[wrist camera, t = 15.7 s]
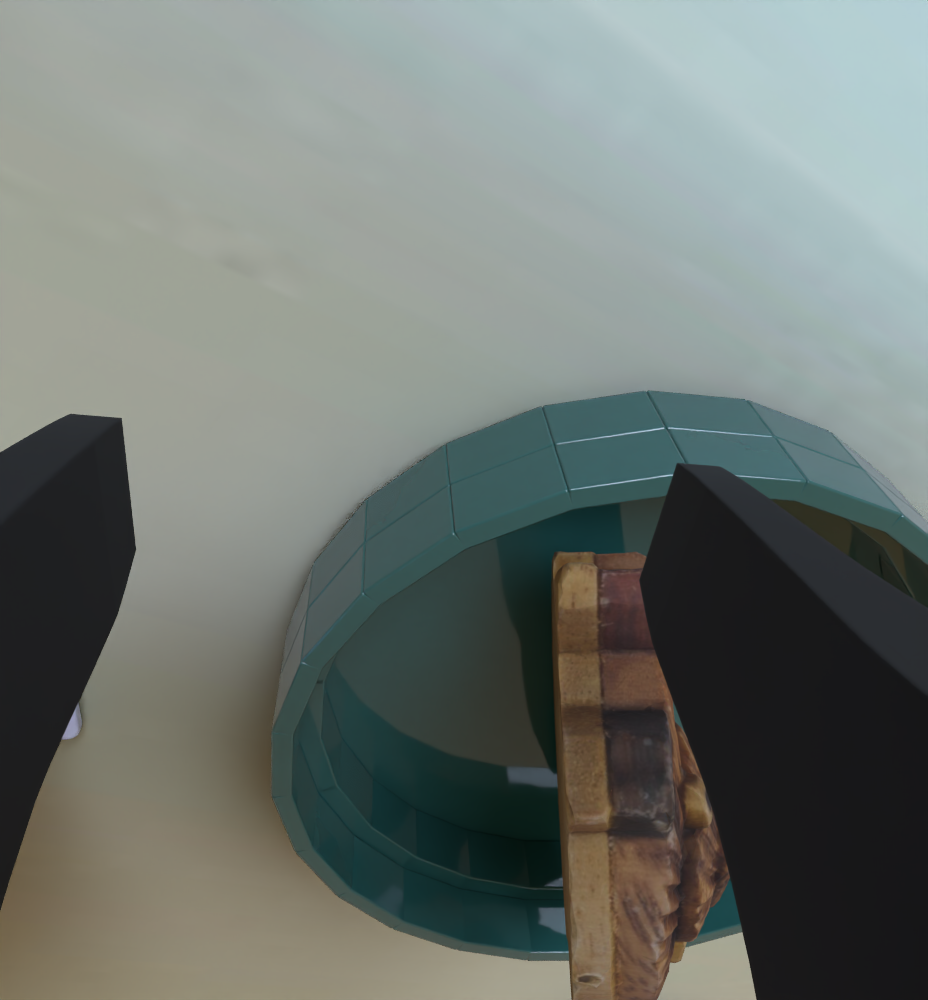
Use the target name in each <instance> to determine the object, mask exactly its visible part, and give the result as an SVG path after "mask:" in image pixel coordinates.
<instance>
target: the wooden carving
mask: <svg viewBox="0 0 928 1000" xmlns="http://www.w3.org/2000/svg"><path fill="white" fill-rule="evenodd" d="M645 560H646V556H645V555H642V554H640V553H638V552H629V553H612V554H595V553H593V552H569V553H568V552H561V551H558V552H554V555H553V558H552V576H551V613H552V660H553V692H554V716H555V739H556V762H557V782H558V805H559V823H560V841H561V860H562V877H563V893H564V909H565V924H566V937H567V940H568V949H569V965H570V982H571V996H572V1000H657V998H658V996H659V994H660V992H661V990H662V987H663V984H664V982H665V979H666V977H667V974H668V972H669V965H670V962H671V963H676V962H679V961H681V959H682V956H683V953H684V949H685V946H686V943H687V942H691V941H694V939H696V938H697V936H698V934H699V932H700V930H701V928H702V926H703V924H704V920H705V917H706V915H707V913H708V911H709V908H711V907H713V906H714V905H715V904H716V903H717V902H718V901H719V900H720V898H721V896H722V894H723V892H724V890H725V888H726V886H727V884H728V881H729V879H730V875H729V871H728V867H727V863H726V859H725V855H724V852H723V848H722V844H721V840H720V836H719V832H718V828H717V824H716V820H715V816H714V813H713V810H712V807H711V804H710V801H709V798H708V794H707V791H706V788H705V785H704V782H703V779H702V777H701V774H700V771H699V769H698V766H697V763H696V761H695V758H694V755H693V753H692V750H691V747H690V745H689V742H688V739H687V737H686V734H685V733H684V731H683V729H682V728H681V727H680V726H679V725H678V724H677V723H676V722H675V720H674V711H673V699H672V697H671V694H670V691H669V689H668V686H667V683H666V680H665V678H664V675H663V672H662V669H661V667H660V664H659V661H658V658H657V655H656V653H655V650H654V647H653V644H652V640H651V636H650V631H649V627H648V623H647V618H646V614H645V608H644V603H643V598H642V593H641V587H640V582H639V579H640V576H641V573H642V570H643V567H644V563H645Z"/></svg>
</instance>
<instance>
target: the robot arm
mask: <svg viewBox="0 0 928 1000" xmlns="http://www.w3.org/2000/svg"><path fill="white" fill-rule="evenodd" d="M135 551H136V546H135V536H134V527H133V518H132V509H131V500H130V491H129V481H128V472H127V463H126V454H125V445H124V436H123V426H122V418H114V417H101V416H89V415H76V414H69V415H67V416H65V417H63V418H60V419H58V420H56V421H54V422H53V423H51V424H49V425H47V426H45V427H43V428H42V429H40V430H38V431H36V432H35V433H33V434H31V435H29V436H28V437H26V438H24V439H23V440H21V441H19V442H17V443H16V444H14V445H12V446H11V447H9V448H7V449H5V450H4V451H2V452H0V910H1V906H2V903H3V900H4V896H5V893H6V890H7V887H8V883H9V880H10V877H11V874H12V871H13V868H14V865H15V862H16V859H17V856H18V853H19V850H20V846H21V843H22V840H23V837H24V834H25V831H26V828H27V825H28V822H29V819H30V816H31V813H32V810H33V807H34V804H35V801H36V798H37V796H38V793H39V791H40V788H41V786H42V783H43V781H44V778H45V776H46V773H47V771H48V768H49V766H50V763H51V761H52V759H53V757H54V755H55V752H56V750H57V748H58V746H59V744H60V742H61V739H63V740H65V739H72V738H74V737H76V736H77V735H78V734H79V732H80V729H81V727H82V718H81V713H80V707H79V700H80V698H81V695H82V693H83V691H84V689H85V687H86V684H87V682H88V680H89V678H90V676H91V674H92V671H93V669H94V667H95V665H96V662H97V660H98V658H99V656H100V653H101V651H102V649H103V647H104V644H105V642H106V640H107V638H108V636H109V633H110V631H111V629H112V626H113V624H114V622H115V619H116V617H117V614H118V611H119V608H120V604H121V601H122V598H123V594H124V591H125V588H126V584H127V581H128V577H129V573H130V570H131V566H132V562H133V559H134V555H135ZM639 582H640V587H641V593H642V598H643V603H644V608H645V614H646V618H647V623H648V627H649V631H650V636H651V640H652V644H653V647H654V650H655V653H656V655H657V658H658V661H659V664H660V667H661V669H662V672H663V675H664V678H665V680H666V683H667V686H668V689H669V691H670V694H671V697H672V699H673V702H674V705H675V707H676V710H677V713H678V715H679V718H680V721H681V723H682V726H683V729H684V731H685V734H686V737H687V739H688V742H689V745H690V747H691V750H692V753H693V755H694V758H695V761H696V763H697V766H698V769H699V771H700V774H701V777H702V779H703V782H704V785H705V788H706V791H707V794H708V798H709V801H710V804H711V807H712V810H713V813H714V816H715V820H716V824H717V828H718V832H719V836H720V840H721V844H722V848H723V852H724V855H725V859H726V863H727V867H728V871H729V875H730V879H731V883H732V887H733V892H734V896H735V900H736V905H737V909H738V914H739V918H740V923H741V927H742V932H743V936H744V940H745V945H746V949H747V954H748V958H749V963H750V968H751V973H752V978H753V983H754V988H755V994H756V999H757V1000H928V608H927V607H925V606H924V605H922V604H920V603H919V602H917V601H916V600H914V599H912V598H911V597H909V596H908V595H906V594H905V593H903V592H902V591H900V590H899V589H897V588H896V587H894V586H892V585H891V584H889V583H888V582H886V581H885V580H883V579H882V578H880V577H879V576H877V575H876V574H874V573H873V572H871V571H869V570H868V569H867V568H865V567H864V566H862V565H861V564H859V563H858V562H856V561H855V560H854V559H852V558H851V557H849V556H848V555H846V554H845V553H843V552H842V551H841V550H839V549H838V548H836V547H835V546H834V545H832V544H831V543H829V542H828V541H827V540H825V539H824V538H822V537H821V536H820V535H818V534H817V533H816V532H814V531H813V530H811V529H810V528H809V527H807V526H806V525H805V524H803V523H802V522H800V521H799V520H798V519H796V518H795V517H794V516H792V515H791V514H790V513H788V512H787V511H785V510H784V509H783V508H781V507H780V506H779V505H777V504H776V503H775V502H773V501H772V500H770V499H769V498H768V497H766V496H765V495H763V494H762V493H761V492H759V491H758V490H756V489H755V488H754V487H752V486H751V485H749V484H748V483H746V482H745V481H743V480H742V479H740V478H739V477H737V476H736V475H734V474H732V473H731V472H729V471H727V470H726V469H724V468H722V467H720V466H709V465H697V464H684V463H677V464H676V467H675V471H674V474H673V477H672V480H671V483H670V486H669V489H668V492H667V495H666V498H665V502H664V505H663V508H662V511H661V514H660V517H659V520H658V523H657V526H656V529H655V533H654V536H653V539H652V542H651V545H650V548H649V551H648V554H647V557H646V560H645V563H644V567H643V570H642V573H641V576H640V579H639Z"/></svg>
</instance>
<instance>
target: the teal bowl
mask: <svg viewBox="0 0 928 1000" xmlns="http://www.w3.org/2000/svg"><path fill="white" fill-rule="evenodd" d="M677 463H684V464H697V465H709V466H720V467H722V468H724V469H726V470H727V471H729V472H731V473H732V474H734V475H736V476H737V477H739V478H740V479H742V480H743V481H745V482H746V483H748V484H749V485H751V486H752V487H754V488H755V489H756V490H758V491H759V492H761V493H762V494H763V495H765V496H766V497H768V498H769V499H770V500H772V501H773V502H775V503H776V504H777V505H779V506H780V507H781V508H783V509H784V510H785V511H787V512H788V513H790V514H791V515H792V516H794V517H795V518H796V519H798V520H799V521H800V522H802V523H803V524H805V525H806V526H807V527H809V528H810V529H811V530H813V531H814V532H816V533H817V534H818V535H820V536H821V537H822V538H824V539H825V540H827V541H828V542H829V543H831V544H832V545H834V546H835V547H836V548H838V549H839V550H841V551H842V552H843V553H845V554H846V555H848V556H849V557H851V558H852V559H854V560H855V561H856V562H858V563H859V564H861V565H862V566H864V567H865V568H867V569H868V570H869V571H871V572H873V573H874V574H876V575H877V576H879V577H880V578H882V579H883V580H885V581H886V582H888V583H889V584H891V585H892V586H894V587H896V588H897V589H899V590H900V591H902V592H903V593H905V594H906V595H908V596H909V597H911V598H912V599H914V600H916V601H917V602H919V603H920V604H922V605H924V606H925V607H927V608H928V522H927V521H926V520H925V519H924V518H923V516H922V515H921V514H920V513H919V512H918V511H917V510H916V509H915V508H914V507H913V505H912V504H911V503H910V502H909V501H908V500H907V499H906V498H905V497H904V496H903V494H902V493H901V492H900V491H899V490H898V489H897V488H896V487H895V486H894V485H893V483H892V482H891V481H890V480H889V479H888V478H887V477H885V476H884V475H883V474H882V473H881V472H879V471H878V470H877V469H876V468H874V467H873V466H872V465H871V464H870V463H868V462H867V461H866V460H865V459H863V458H862V457H861V456H860V455H859V454H857V453H856V452H855V451H854V450H852V449H851V448H850V447H849V446H848V445H846V444H845V443H844V442H843V441H841V440H840V439H839V438H838V437H837V436H835V435H834V434H833V433H831V432H829V431H828V430H825V429H823V428H820V427H817V426H815V425H812V424H810V423H807V422H804V421H802V420H799V419H796V418H794V417H791V416H788V415H786V414H783V413H781V412H778V411H775V410H773V409H770V408H767V407H765V406H762V405H759V404H757V403H754V402H752V401H749V400H745V399H735V398H725V397H714V396H703V395H692V394H681V393H670V392H660V391H647V392H646V391H640V392H633V393H626V394H619V395H613V396H606V397H599V398H592V399H586V400H579V401H572V402H565V403H559V404H552V405H545V406H543V408H542V407H537V408H535V409H532V410H530V411H527V412H525V413H522V414H520V415H517V416H515V417H512V418H510V419H507V420H504V421H502V422H499V423H497V424H494V425H492V426H489V427H487V428H484V429H482V430H479V431H476V432H474V433H471V434H469V435H466V436H464V437H461V438H459V439H456V440H454V441H451V442H449V443H447V444H446V445H443V446H442V447H440V448H439V449H437V450H436V451H434V452H433V453H432V454H430V455H429V456H427V457H426V458H424V459H423V460H422V461H420V462H419V463H417V464H416V465H415V466H413V467H412V468H410V469H409V470H407V471H406V472H405V473H403V474H402V475H400V476H399V477H397V478H396V479H395V480H393V481H392V482H390V483H389V484H387V485H386V486H385V487H383V488H382V489H380V490H379V491H378V492H376V493H375V494H373V495H372V496H370V497H369V498H368V499H367V500H365V502H364V503H363V504H362V505H361V506H360V508H359V509H358V510H357V511H356V512H355V514H354V515H353V516H352V517H351V518H350V520H349V521H348V522H347V523H346V525H345V526H344V527H343V528H342V529H341V531H340V532H339V533H338V534H337V535H336V537H335V538H334V539H333V540H332V541H331V543H330V544H329V545H328V546H327V548H326V549H325V550H324V551H323V552H322V554H321V555H320V556H319V557H318V558H317V560H316V561H315V562H314V565H313V566H312V568H311V571H310V573H309V576H308V578H307V581H306V584H305V586H304V589H303V591H302V594H301V596H300V599H299V601H298V604H297V606H296V609H295V611H294V614H293V616H292V619H291V621H290V624H289V626H288V629H287V634H286V641H285V647H284V653H283V660H282V666H281V673H280V680H279V686H278V693H277V699H276V705H275V712H274V718H273V725H272V731H271V795H272V799H273V802H274V804H275V806H276V809H277V811H278V813H279V816H280V818H281V820H282V823H283V825H284V827H285V830H286V832H287V834H288V837H289V839H290V842H291V844H292V846H293V849H294V851H296V854H297V855H298V856H299V857H300V858H301V859H302V860H303V861H304V862H305V863H306V864H307V865H308V866H309V867H310V868H311V869H312V871H313V872H314V873H315V874H316V875H317V876H318V877H319V878H320V879H321V880H322V881H323V882H324V883H325V884H326V885H327V886H328V887H329V888H330V890H331V891H332V892H333V893H334V894H335V895H337V896H338V897H339V898H341V899H342V900H344V901H346V902H347V903H349V904H351V905H352V906H354V907H356V908H358V909H359V910H361V911H363V912H364V913H366V914H368V915H369V916H371V917H373V918H374V919H376V920H378V921H380V922H381V923H383V924H385V925H386V926H388V927H390V928H393V929H394V930H397V931H400V932H403V933H406V934H409V935H412V936H415V937H418V938H421V939H424V940H427V941H430V942H433V943H436V944H439V945H442V946H445V947H448V948H451V949H454V950H456V949H457V950H459V951H466V952H472V953H479V954H486V955H493V956H500V957H506V958H513V959H520V960H528V961H569V949H568V940H567V937H566V924H565V909H564V893H563V877H562V860H561V841H560V823H559V805H558V782H557V762H556V739H555V716H554V692H553V660H552V613H551V576H552V558H553V555H554V552H558V551H561V552H568V553H569V552H593V553H595V554H612V553H629V552H638V553H640V554H642V555H645V556H646V557H647V554H648V551H649V548H650V545H651V542H652V539H653V536H654V533H655V529H656V526H657V523H658V520H659V517H660V514H661V511H662V508H663V505H664V502H665V498H666V495H667V492H668V489H669V486H670V483H671V480H672V477H673V474H674V471H675V467H676V464H677ZM673 711H674V720H675V722H676V723H677V724H678V725H679V726H680V727H681V728H682V729H683V726H682V723H681V721H680V718H679V715H678V713H677V710H676V707H675V705H674V702H673ZM683 731H684V729H683ZM684 733H685V731H684ZM740 932H742V927H741V923H740V918H739V914H738V909H737V905H736V900H735V896H734V892H733V887H732V883H731V879H729V881H728V884H727V886H726V888H725V890H724V892H723V894H722V896H721V898H720V900H719V901H718V902H717V903H716V904H715V905H714V906H713V907H711V908H709V911H708V913H707V915H706V917H705V920H704V924H703V926H702V928H701V930H700V932H699V934H698V936H697V938H696V939H694V941H691V942H687V943H686V946H685V947H689V946H693V945H696V944H700V943H704V942H707V941H711V940H715V939H718V938H722V937H726V936H729V935H733V934H737V933H740Z"/></svg>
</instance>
